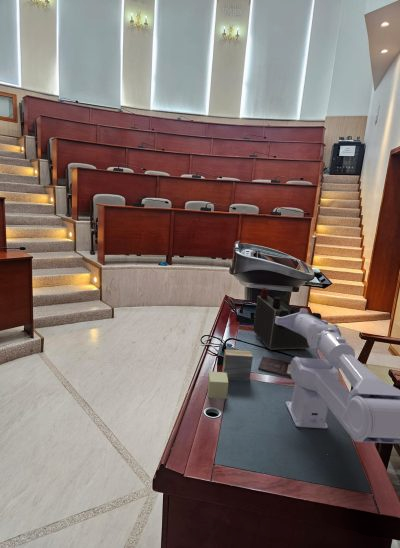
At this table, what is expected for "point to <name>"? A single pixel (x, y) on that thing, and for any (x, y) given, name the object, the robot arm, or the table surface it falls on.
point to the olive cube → (217, 385)
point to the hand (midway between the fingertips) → (291, 316)
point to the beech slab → (237, 364)
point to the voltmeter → (268, 327)
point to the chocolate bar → (275, 366)
